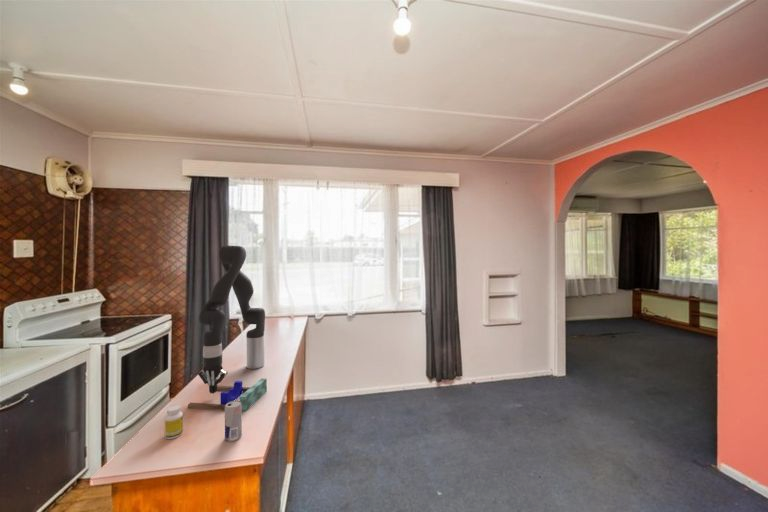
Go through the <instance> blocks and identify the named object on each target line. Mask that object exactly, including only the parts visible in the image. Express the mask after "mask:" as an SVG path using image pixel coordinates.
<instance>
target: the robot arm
mask: <svg viewBox="0 0 768 512" xmlns="http://www.w3.org/2000/svg"><path fill="white" fill-rule="evenodd" d="M218 257H219V258H218V259H219V261H220V263H221V265H222V267H223V268H224V270H225V274H224V275H222V277H220V278H219V279H218V280H217V282H216V283H215V285H214V286H213V288H212V292H211V294H210V297H209V299H208V301H207V302H206V304H204V306H203V308H202V309H201V311H200V312H199V317H198V321H199V323H200V325H202V326H209V327H210V326H212V329H211V330H207V331H204V333H203V340H202V341H203V345H202V346H203V348H202V366H203V367H202V370H201V371H199V372H198V373H197V374H198V376H199V378H200V379H201V380H202V381H203V383H204V384H207V385H208V392H209V394H215V393H216V392H217V391H218V390H217V386H218V385H219V384H220V383H222V381H223V380H224V379H225V377H226V376H227V375H228V373H229V372H228V371H226V370H225V371H224V370H223V369H224V367H223V344H222V342H223V341H222V334H223V330H224V326H225V323H226V313H225V311H224V310H222V309H218V308H220V307H222V306H225V305H227V302H228V299H229V295H230V293H231V289H232V290H233V292H234V295H235V297H236V299H237V302H238V305H239V308H240V312H241V316H242V317H241V318H242V320H243V322H244V324H246V325H255V328H252V329H250V330H248V331H247V332H246V337H245V338H246V368H247V369H250V370H257V369H260V368H263V367H264V366H265V324H266V321H265V320H266V311H265V309H264V308H263V307H251V306H250V301H251V299H252V297H253V295H254V287H253V284H252V281H251V279H250V278H249V276H248V275H247V274H245V273H244V271H242V270H241V269H242V267H243V266H244V263H245V261H246V258H247V251H246V248H245V247H244V246H241V245H228V244H227V245H222V246H221V247H220V248H219V250H218Z"/></svg>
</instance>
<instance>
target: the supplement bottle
mask: <svg viewBox="0 0 768 512" xmlns="http://www.w3.org/2000/svg"><path fill="white" fill-rule="evenodd" d="M183 415H184V414H183V412H182V411H181V405H177V404H176V405H173V406H172V405H171V406H169V407H168V408H167V409H166V415H165V416H164V423H163V424H164V439H166V440H173V439H176V438H178V437H180V436H182V434H183V432H184V428H183V427H184V425H183V423H184V420H183V419H184V418H183V417H184V416H183Z"/></svg>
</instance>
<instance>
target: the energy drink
mask: <svg viewBox="0 0 768 512" xmlns="http://www.w3.org/2000/svg"><path fill="white" fill-rule="evenodd" d="M242 412H243V411H242V404H241V402H240V400H235V401H231V402H228V403H227V404H226V405H225V410H224V440H225V441H226V442H228V443H230V442H236V441H238V440H239V439H240V438H241V437H242V436H243V432H242V430H243V427H242V426H243V425H242V424H243V422H242V421H243V420H242V419H243V418H242V415H243V413H242Z"/></svg>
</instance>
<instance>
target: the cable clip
mask: <svg viewBox="0 0 768 512" xmlns="http://www.w3.org/2000/svg"><path fill="white" fill-rule="evenodd" d="M233 386H234V387H233V388H231V389H230V390H229V391H222V392H221V391H220V395H219V396H220V404H224V405H226V404H227V403H228V402H231V401H234V400H235V399H236V400H237V399H238V398H240V396H241V395H242V394H243V392H242V387H243V381H241V380H236V381H234V382H233ZM236 400H235V401H236Z"/></svg>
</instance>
